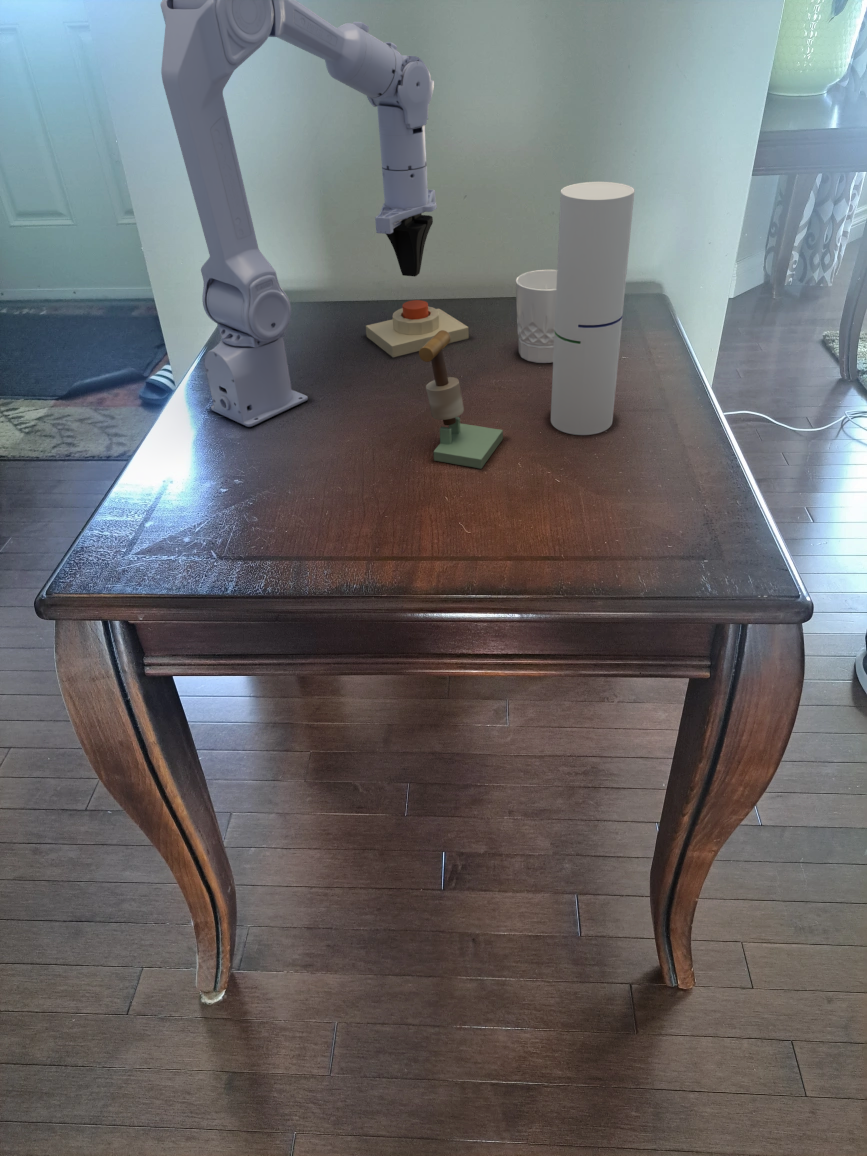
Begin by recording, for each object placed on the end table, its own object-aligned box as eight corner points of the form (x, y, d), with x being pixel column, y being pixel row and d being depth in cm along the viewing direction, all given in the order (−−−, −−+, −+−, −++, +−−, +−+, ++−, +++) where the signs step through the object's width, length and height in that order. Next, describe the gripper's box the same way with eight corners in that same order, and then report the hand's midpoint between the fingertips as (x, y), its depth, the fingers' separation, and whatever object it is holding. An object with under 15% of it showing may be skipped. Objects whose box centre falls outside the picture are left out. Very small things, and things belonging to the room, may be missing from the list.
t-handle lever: (408, 347, 85) (440, 346, 84) (427, 330, 89) (457, 329, 87) (426, 432, 91) (456, 432, 89) (443, 413, 94) (472, 413, 92)
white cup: (572, 342, 115) (576, 268, 109) (574, 365, 109) (578, 289, 103) (515, 342, 116) (516, 269, 110) (513, 365, 110) (515, 290, 104)
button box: (393, 357, 114) (391, 333, 112) (366, 336, 120) (364, 313, 118) (469, 338, 118) (468, 314, 116) (439, 319, 124) (438, 296, 122)
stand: (433, 460, 91) (432, 436, 89) (457, 431, 96) (456, 408, 94) (481, 469, 89) (481, 444, 87) (503, 439, 94) (503, 415, 92)
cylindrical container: (611, 436, 93) (633, 199, 78) (547, 433, 95) (557, 199, 79) (613, 408, 99) (634, 181, 83) (553, 405, 100) (563, 181, 85)
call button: (410, 323, 115) (409, 311, 114) (398, 315, 118) (398, 303, 117) (433, 317, 116) (432, 305, 115) (421, 310, 119) (420, 298, 118)
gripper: (409, 180, 98) (415, 294, 107) (454, 154, 109) (457, 260, 117) (356, 177, 101) (367, 289, 109) (406, 153, 111) (412, 256, 120)
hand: (410, 274), depth 113 cm, fingers closed
